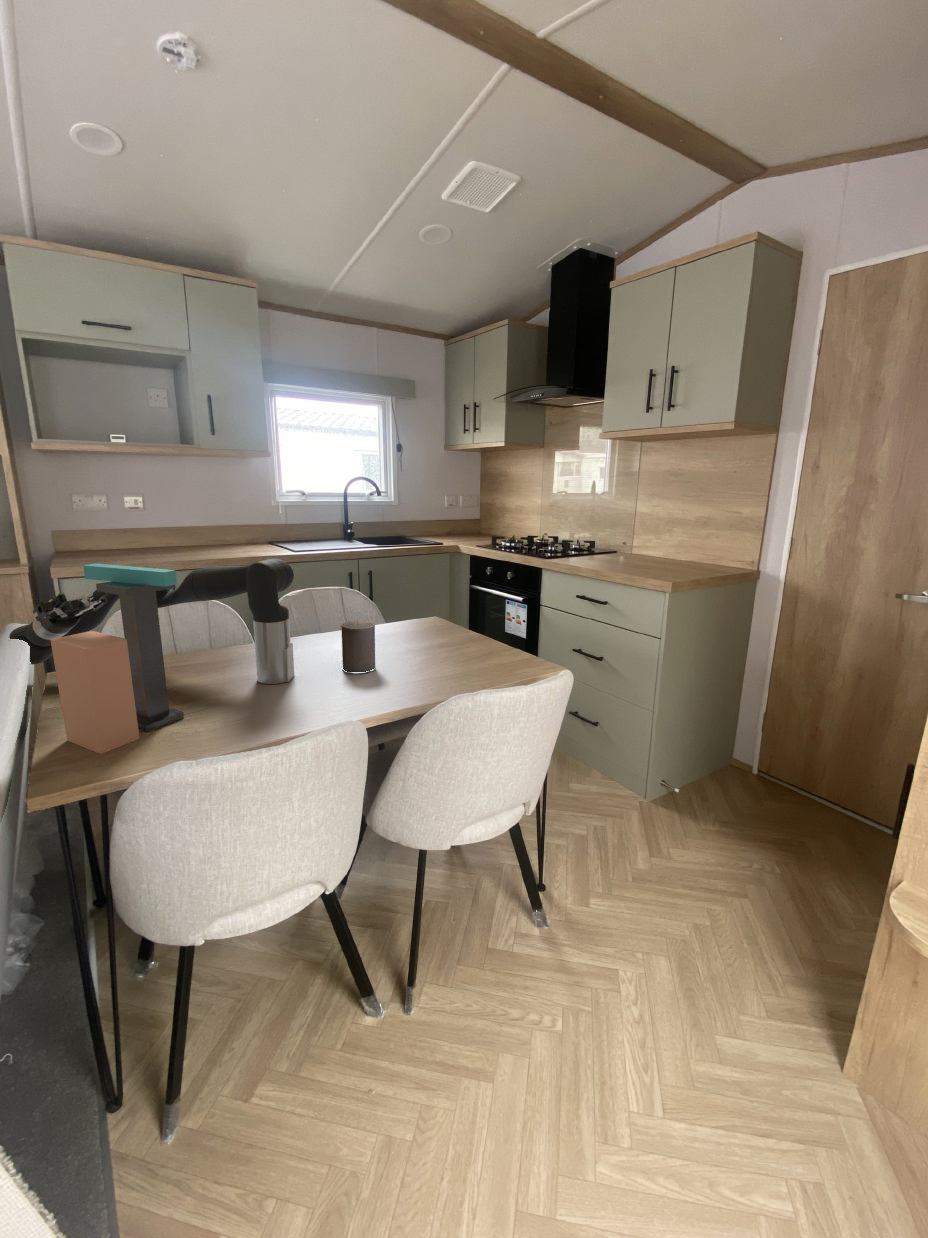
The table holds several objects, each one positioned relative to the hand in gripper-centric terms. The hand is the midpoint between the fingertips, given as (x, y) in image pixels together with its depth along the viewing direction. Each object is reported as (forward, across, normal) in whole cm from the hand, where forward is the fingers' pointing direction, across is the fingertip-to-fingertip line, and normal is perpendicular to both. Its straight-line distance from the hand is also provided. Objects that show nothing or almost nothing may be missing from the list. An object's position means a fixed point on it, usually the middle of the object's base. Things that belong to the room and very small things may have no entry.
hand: (83, 593), depth 129 cm
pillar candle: (+19, -52, -43) cm, 71 cm away
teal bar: (+19, 0, -6) cm, 20 cm away
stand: (+4, 0, -34) cm, 34 cm away
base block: (+4, +11, -34) cm, 36 cm away
